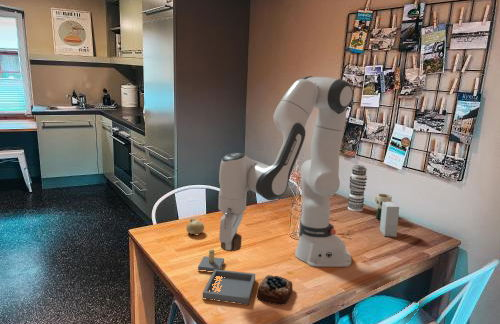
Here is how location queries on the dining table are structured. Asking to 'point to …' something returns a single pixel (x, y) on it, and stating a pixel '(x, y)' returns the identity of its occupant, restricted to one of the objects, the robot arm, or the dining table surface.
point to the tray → (231, 286)
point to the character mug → (379, 200)
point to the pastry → (274, 289)
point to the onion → (195, 226)
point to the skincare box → (389, 219)
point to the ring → (233, 243)
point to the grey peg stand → (211, 262)
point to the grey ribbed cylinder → (357, 188)
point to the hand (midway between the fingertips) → (231, 243)
